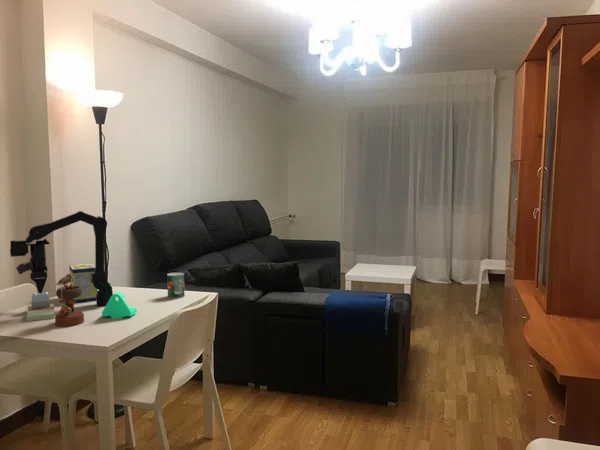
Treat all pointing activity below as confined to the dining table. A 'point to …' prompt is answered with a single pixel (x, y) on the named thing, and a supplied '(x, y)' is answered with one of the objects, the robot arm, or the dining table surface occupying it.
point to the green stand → (40, 314)
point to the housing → (40, 300)
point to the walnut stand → (40, 308)
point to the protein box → (83, 281)
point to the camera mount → (118, 307)
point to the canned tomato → (175, 285)
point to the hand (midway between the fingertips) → (40, 291)
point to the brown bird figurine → (68, 304)
